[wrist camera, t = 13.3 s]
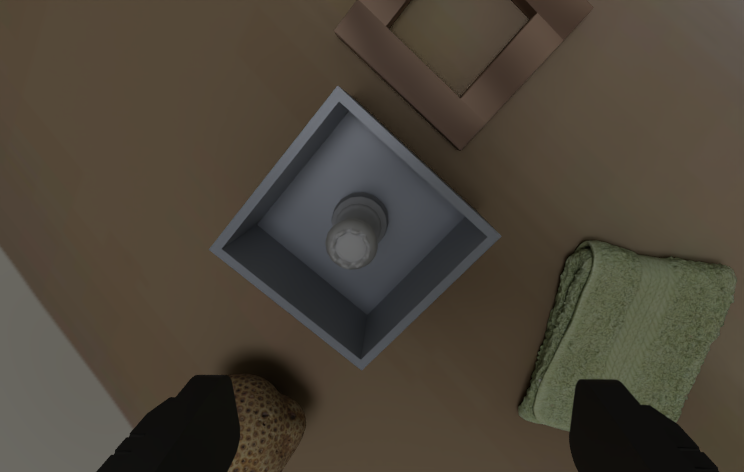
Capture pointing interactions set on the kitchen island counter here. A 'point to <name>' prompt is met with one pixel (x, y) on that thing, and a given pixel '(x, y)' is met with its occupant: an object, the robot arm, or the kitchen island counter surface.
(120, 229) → the kitchen island counter surface
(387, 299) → the bin
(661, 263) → the washcloth
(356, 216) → the rook chess piece
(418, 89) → the socket block
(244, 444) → the natural sponge
